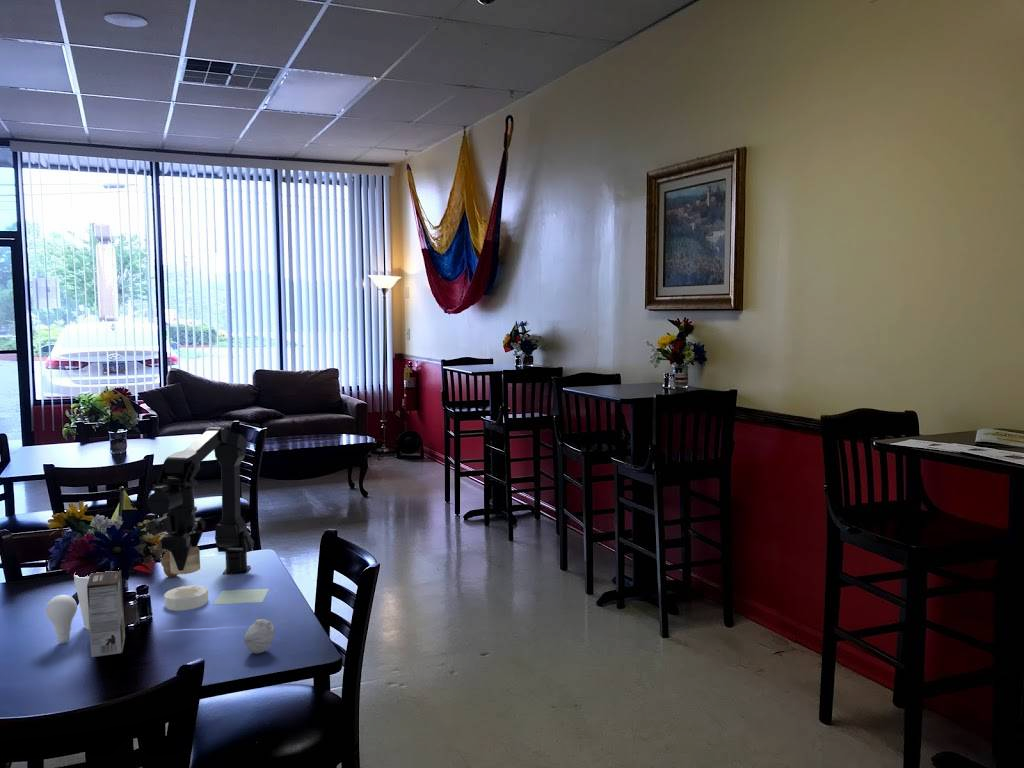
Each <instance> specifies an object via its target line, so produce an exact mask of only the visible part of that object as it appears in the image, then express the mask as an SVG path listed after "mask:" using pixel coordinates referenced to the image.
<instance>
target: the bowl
mask: <svg viewBox="0 0 1024 768" xmlns="http://www.w3.org/2000/svg"><path fill="white" fill-rule="evenodd" d="M163 601H164V603H163V604H164V608H165V609H166V610H170V611H176V612H178V611H188V610H193V609H198V608H200V607H203V606H205V605H206V604H207V603H208V602H209V588H207V587H206V586H205V585H197V584H195V585H183V586H179V587H175V588H171V589H170V590H167V591H166V592H165V593H164V595H163Z"/></svg>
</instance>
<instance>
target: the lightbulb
mask: <svg viewBox="0 0 1024 768" xmlns="http://www.w3.org/2000/svg"><path fill="white" fill-rule="evenodd" d="M77 610H78V604H77V601H76V600H75V599H74V598H73V597H72V596H71V595H68V594H59V595H56V596H54V597H53V598H51V599H50V600H49V601H48V603H47V605H46V608H45V614H46V617H47V618H48V620H49V621H50V622H51V624H52V626H53V628H54V633H55V634H56V635H55V636H56V642H58V643H60V644H65V643H67V642H68V641H70V638H71V630H72V622H73V619H74V617H75V615H76V614H77Z"/></svg>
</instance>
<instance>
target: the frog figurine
mask: <svg viewBox="0 0 1024 768" xmlns="http://www.w3.org/2000/svg"><path fill="white" fill-rule="evenodd" d="M274 635H275V626H274V624H273V622H272V621H270V620H268V619H265V618H263V619H261V618H257V619H255V620H254V622H253V623H252V625H250V626H249V627H248V629H247V630H246V633H245V634H244V637H243V640H244V645H246V647H247V649H248V650H249V652H250V653H253V654H263V653H264V652H266V651H267V650H268V649H269V647H270V646H271V644H272V640H273V639H274Z"/></svg>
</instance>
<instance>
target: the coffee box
mask: <svg viewBox="0 0 1024 768" xmlns="http://www.w3.org/2000/svg"><path fill="white" fill-rule="evenodd" d="M87 595H88V613H89V630H88V631H89V644H90V658H96V657H97V658H98V657H104V656H111V655H117V654H118V655H119V654H122V653H123V650H124V645H125V639H126V629H125V616H124V615H125V614H124V613H125V612H124V596H123V580H122V570H121V569H120V570H119V571H105V572H96V573H91V574H90V577H89V581H88V584H87Z"/></svg>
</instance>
